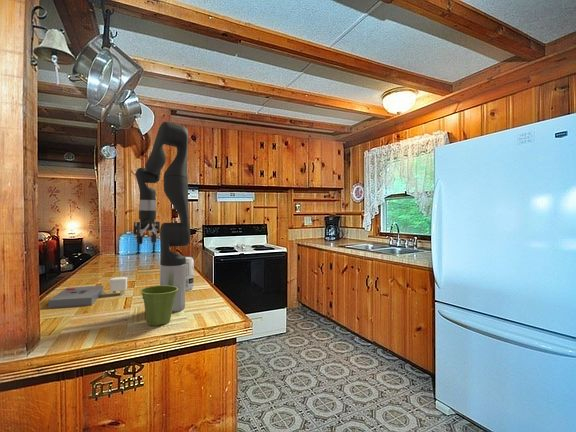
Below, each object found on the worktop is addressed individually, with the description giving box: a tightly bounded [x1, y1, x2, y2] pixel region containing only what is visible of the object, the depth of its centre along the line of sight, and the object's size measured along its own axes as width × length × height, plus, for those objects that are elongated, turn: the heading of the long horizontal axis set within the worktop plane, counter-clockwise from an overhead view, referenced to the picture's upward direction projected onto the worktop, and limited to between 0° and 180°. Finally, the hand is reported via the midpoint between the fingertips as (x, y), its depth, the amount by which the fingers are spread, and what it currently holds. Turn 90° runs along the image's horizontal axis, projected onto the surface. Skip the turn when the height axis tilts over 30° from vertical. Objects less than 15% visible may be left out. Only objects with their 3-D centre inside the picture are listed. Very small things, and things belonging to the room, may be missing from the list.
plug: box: [109, 276, 128, 296], centre depth 135 cm, size 4×6×7 cm
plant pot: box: [139, 285, 178, 327], centre depth 102 cm, size 12×12×11 cm
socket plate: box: [48, 285, 104, 309], centre depth 126 cm, size 20×14×4 cm
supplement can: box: [185, 256, 195, 291], centre depth 147 cm, size 8×8×15 cm
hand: (147, 243), depth 146 cm, fingers open, 8 cm apart
